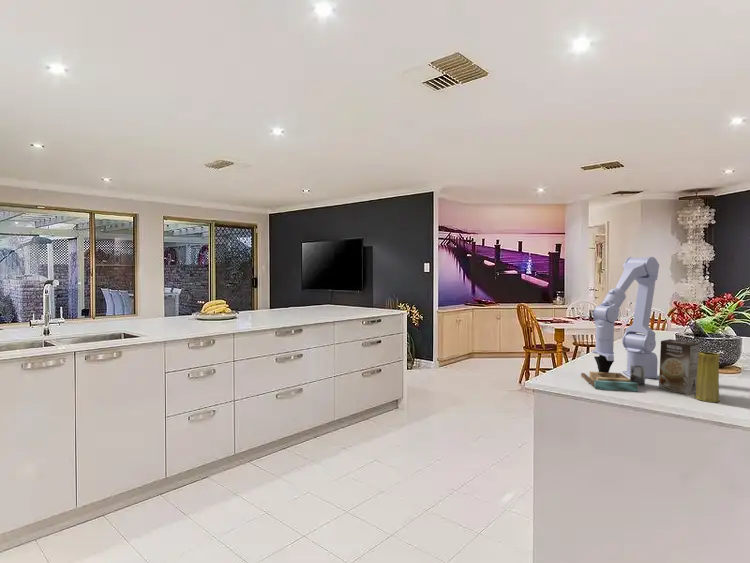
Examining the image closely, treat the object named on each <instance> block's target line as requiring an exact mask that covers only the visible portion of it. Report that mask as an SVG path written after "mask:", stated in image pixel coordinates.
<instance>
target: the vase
mask: <svg viewBox="0 0 750 563" xmlns="http://www.w3.org/2000/svg"><path fill="white" fill-rule="evenodd" d="M719 377H720V353H716V352H712V351H698V366H697V381H696V392H695V396H694V398H695V399H696V400H698V401H702V402H706V403H707V402H708V403H718V402H720V382H719V380H720V378H719Z"/></svg>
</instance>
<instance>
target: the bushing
mask: <svg viewBox="0 0 750 563" xmlns="http://www.w3.org/2000/svg"><path fill="white" fill-rule="evenodd" d="M629 377H630V378H629V379H630V382H635V383H638V386H645V385H646V378H645V367H643V366H637V365H631V367H630V376H629Z"/></svg>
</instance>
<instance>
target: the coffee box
mask: <svg viewBox="0 0 750 563" xmlns="http://www.w3.org/2000/svg"><path fill="white" fill-rule="evenodd" d="M699 345H700V344H699V343H696V342H691V341H689V342H688V341H683V340H676V339H671V338H670V339H665V340H664V339H663V340H661V341H660V350H659V351H660V355H659V359H660V360H659V377H658V389H662V390H666V391H670V392H674V393H678V392H679V393H680V394H682V393H683V394H684V395H687V394H688V395H691V394H694V393H695V394H696V381H697V367H698V352H699ZM679 393H678V394H679Z"/></svg>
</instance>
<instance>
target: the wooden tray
mask: <svg viewBox="0 0 750 563" xmlns="http://www.w3.org/2000/svg"><path fill="white" fill-rule="evenodd" d="M588 377H589V378H591V379H592V380H593V381H594V380H598V381H617V382H630V378H629V377H628V376H626V375H624V374H622V373H620V372H610V371H609V372H599V371H589V376H588Z"/></svg>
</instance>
